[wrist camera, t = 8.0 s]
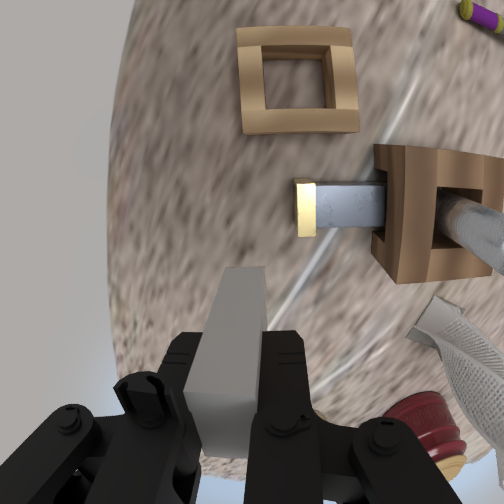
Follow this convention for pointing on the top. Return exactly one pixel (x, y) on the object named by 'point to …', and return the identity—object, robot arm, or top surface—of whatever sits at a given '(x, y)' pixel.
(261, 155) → the top surface
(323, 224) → the bar
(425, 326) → the skyscraper
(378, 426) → the robot arm
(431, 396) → the canister
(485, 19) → the hammer
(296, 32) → the wooden square frame
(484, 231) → the metal rod in cradle
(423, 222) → the socket block
